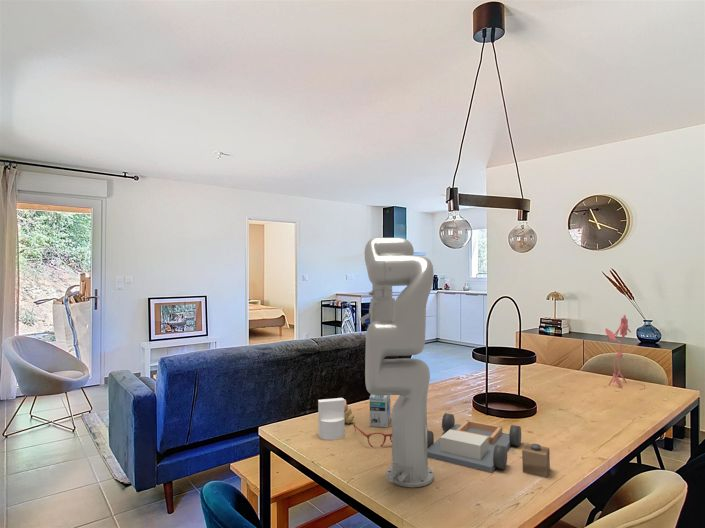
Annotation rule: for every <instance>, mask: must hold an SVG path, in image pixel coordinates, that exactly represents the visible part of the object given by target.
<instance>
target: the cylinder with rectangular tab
mask: <svg viewBox="0 0 705 528" xmlns="http://www.w3.org/2000/svg"><path fill="white" fill-rule="evenodd" d="M317 401H318V403H317V405H318V406H317V408H318V410H317V411H318V414H317V415H318V418H317V420H318V438H319V439H322V440H324V441H325V440H326V441H337V440H336V439H338V440H341V439H342V437H343V438H344V437H345V432H346V431H345V424H346V422H344V398H343V397H337V398H325V399H324V398H323V399H317ZM340 438H341V439H340Z"/></svg>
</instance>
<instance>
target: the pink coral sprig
mask: <svg viewBox="0 0 705 528" xmlns="http://www.w3.org/2000/svg"><path fill="white" fill-rule="evenodd" d="M628 332H629V333H630V334H632V331H631V329H629V323H628V318H627V316H626V314H623V317H621V318H620V325H619V327H618V329H617V330H616V331H615V333H613V332H612V330H610V329H608V328H607V327H606V328H605V334H606V337H607V341H608V342H609V341H611V340H612V341H613V342H616V341H617V342H618V343H619V345H620V346H619V350H620V351H617V353H616V357H617V358H616V359H614V360H613V370H614V373H612V376H613V377H612V378H611V380H610V381H609V383H608V384H607V385H608V386H610V385H611V383H612V382H613V383H615V382H616V384H617V385H618V386H620V388H621V389H622V388H623V385H622V383H621V380H620V379H619V376H620V377H621V379H622V380H623V381H624V382H625V383H627V381H626V379H625V377H624V376H623V374H622V372H621V368H620V363H619V361H620V360H619V359H620V358H623V357H624V354H623V353H622V342H621V340H619V339H617V338H616V337H618V334H620V336H621V337H622V340H625V338H626V336H627V335H628ZM616 362H617V364H618V370H617V374H616V373H615V372H616ZM638 384H639V385H641V386H643V387H644V388H641V389H639V391H641V390H644V389H645V388H646V387H645V385H644V384H643V383H642V384H641V383H639V382H638ZM603 387H605V388H606V386H604V385H603Z"/></svg>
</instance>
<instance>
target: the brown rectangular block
mask: <svg viewBox="0 0 705 528" xmlns="http://www.w3.org/2000/svg"><path fill="white" fill-rule="evenodd" d="M521 452H522V453H521V455H522V456H521V458H522V459H521V460H522V463H521V464H522V473H525V474H530V475H533V476H537V477H542V478H547V477H548V475H549V473H550V470H551V461H550V460H551V458H550V455H551V453H550V447H547V446H543V445H540V444H539V443H529V442H527V443H525V445H524V447H523V448H522V451H521Z"/></svg>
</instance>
